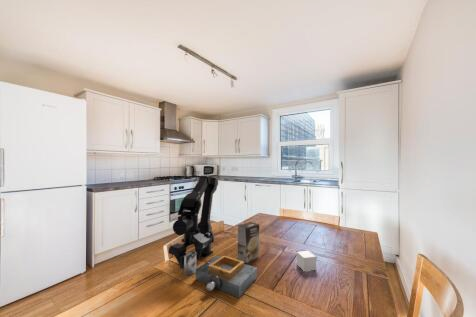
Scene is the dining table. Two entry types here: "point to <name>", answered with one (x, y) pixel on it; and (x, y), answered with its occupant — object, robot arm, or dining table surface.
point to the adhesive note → (306, 260)
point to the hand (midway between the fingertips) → (190, 263)
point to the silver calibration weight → (190, 263)
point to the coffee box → (248, 242)
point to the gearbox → (227, 275)
